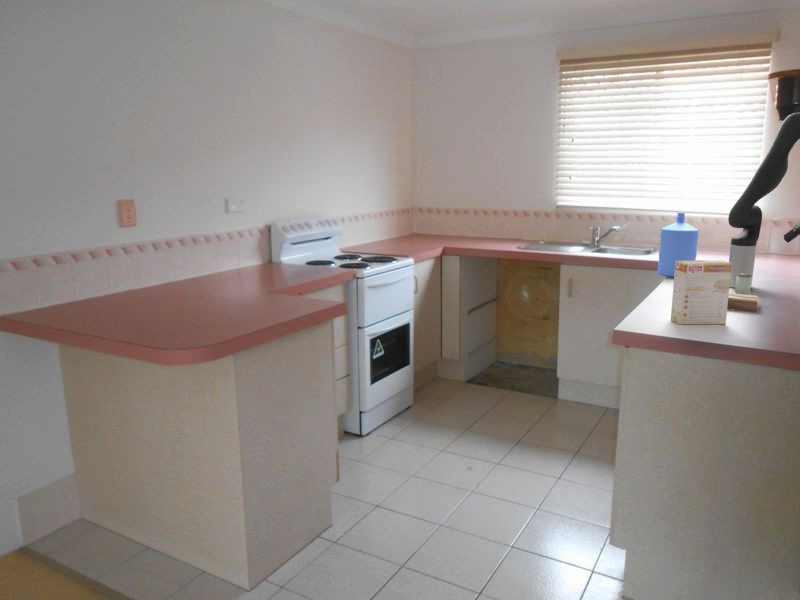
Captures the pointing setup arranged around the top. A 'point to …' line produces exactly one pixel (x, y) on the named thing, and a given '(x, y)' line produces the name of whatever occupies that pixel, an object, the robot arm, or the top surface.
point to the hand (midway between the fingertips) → (785, 239)
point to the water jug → (676, 245)
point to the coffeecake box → (701, 291)
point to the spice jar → (743, 283)
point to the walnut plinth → (742, 302)
